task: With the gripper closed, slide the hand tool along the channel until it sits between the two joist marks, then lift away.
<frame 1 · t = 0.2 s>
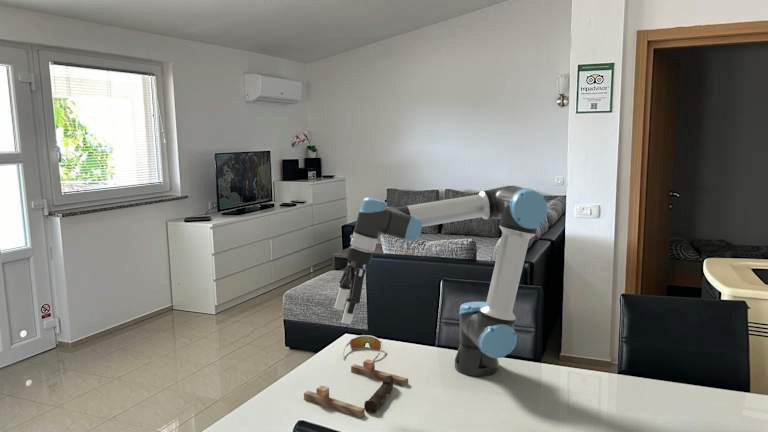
hand: (342, 315, 173), 27 cm above the table, tool tilted 20°, fingers open, 13 cm apart
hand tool: (380, 399, 178), on the table
sunglasses: (363, 355, 213), on the table
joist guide: (357, 391, 183), on the table
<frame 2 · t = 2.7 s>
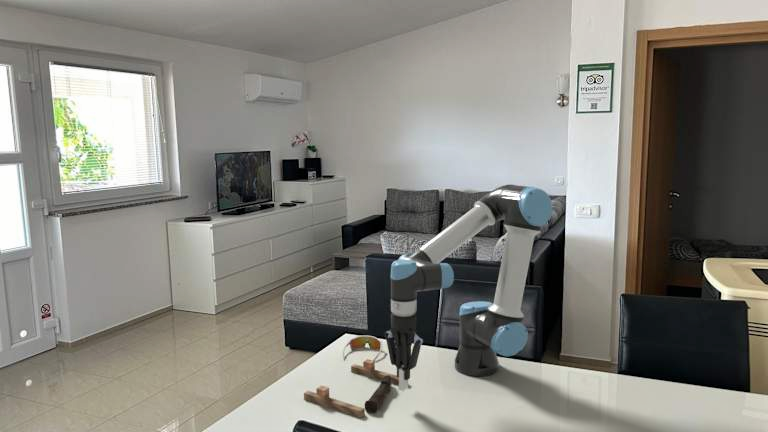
hand: (403, 388, 172), 6 cm above the table, tool pointing down, fingers closed
nothing on the table moved.
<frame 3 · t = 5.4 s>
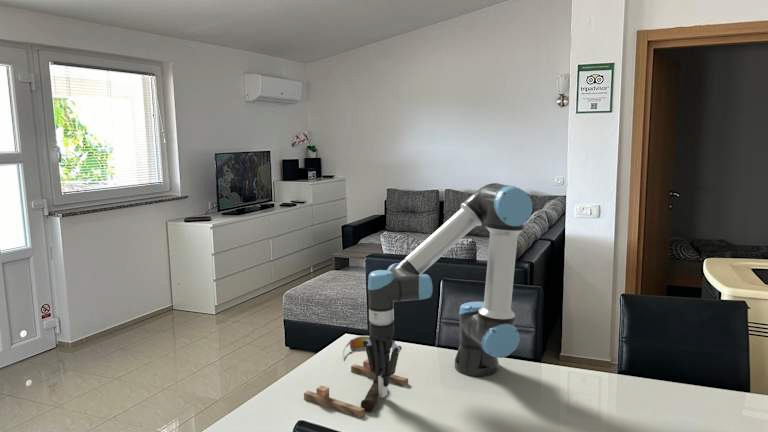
hand: (383, 395, 177), 1 cm above the table, tool pointing down, fingers closed
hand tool: (372, 398, 178), on the table, touching gripper
everything else where it was.
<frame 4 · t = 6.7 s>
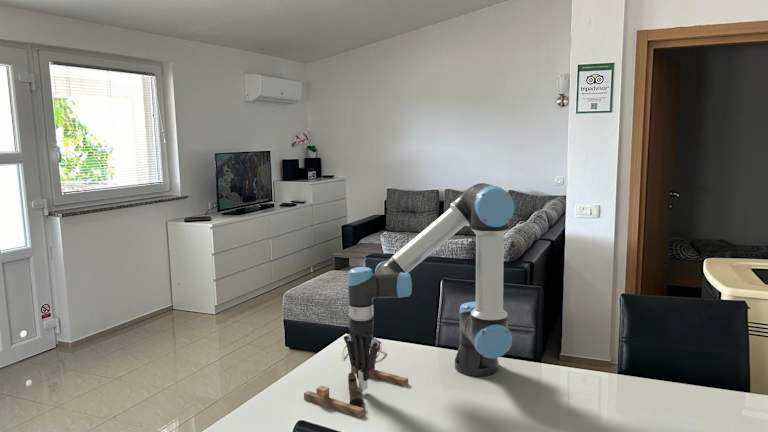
hand: (363, 389, 181), 1 cm above the table, tool pointing down, fingers closed
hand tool: (352, 397, 180), on the table
everything else where it was.
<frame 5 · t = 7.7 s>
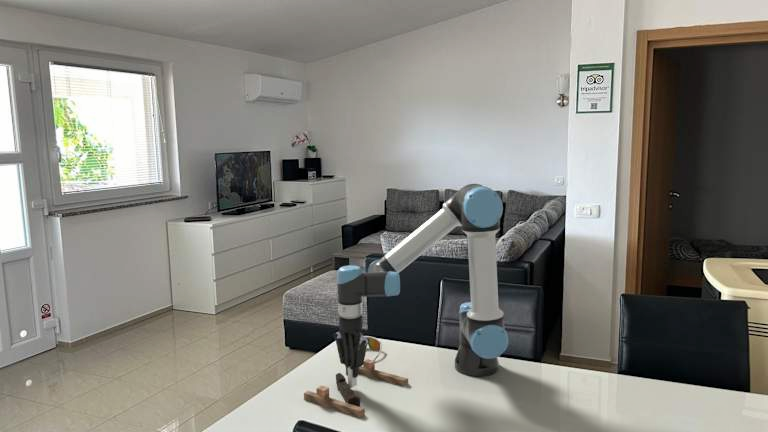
hand: (352, 385, 183), 1 cm above the table, tool pointing down, fingers closed
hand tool: (344, 397, 180), on the table
everything else where it was.
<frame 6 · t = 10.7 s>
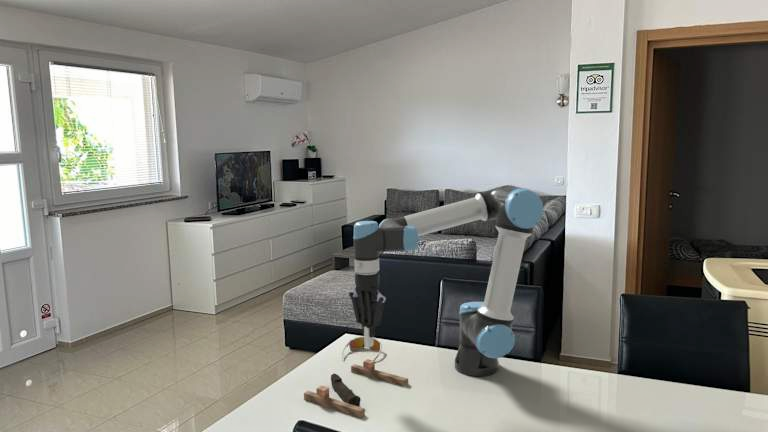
hand: (369, 346, 177), 16 cm above the table, tool pointing down, fingers closed
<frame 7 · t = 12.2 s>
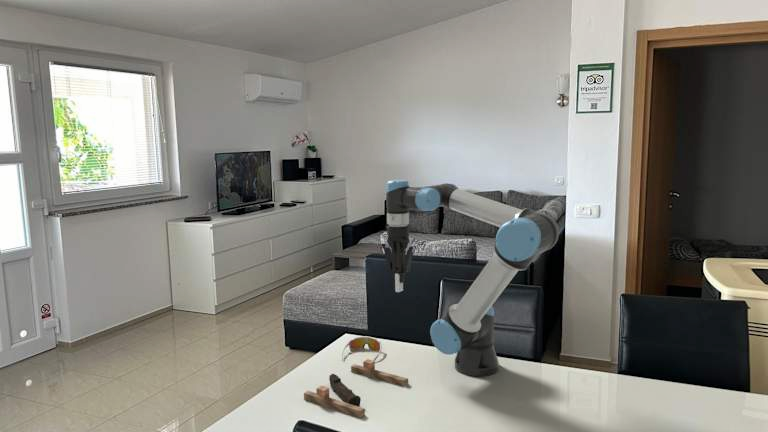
hand: (399, 291, 201), 26 cm above the table, tool pointing down, fingers closed
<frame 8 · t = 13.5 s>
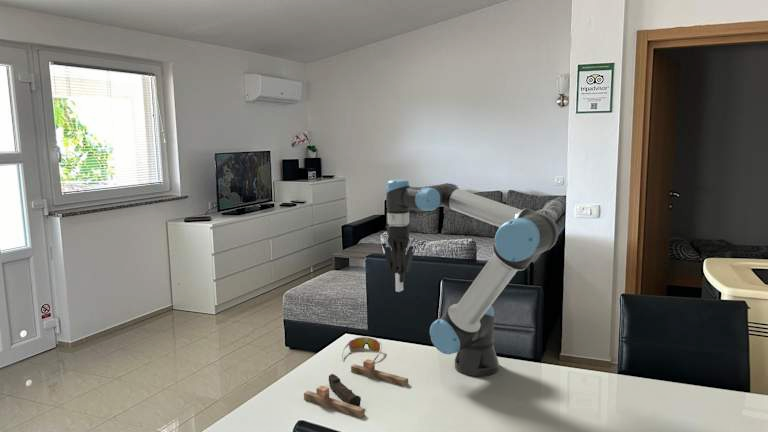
hand: (399, 290, 201), 26 cm above the table, tool pointing down, fingers closed
at the end: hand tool inside the target area (5.0 cm from its centre), on the table; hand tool moved 12.7 cm from its start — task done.
